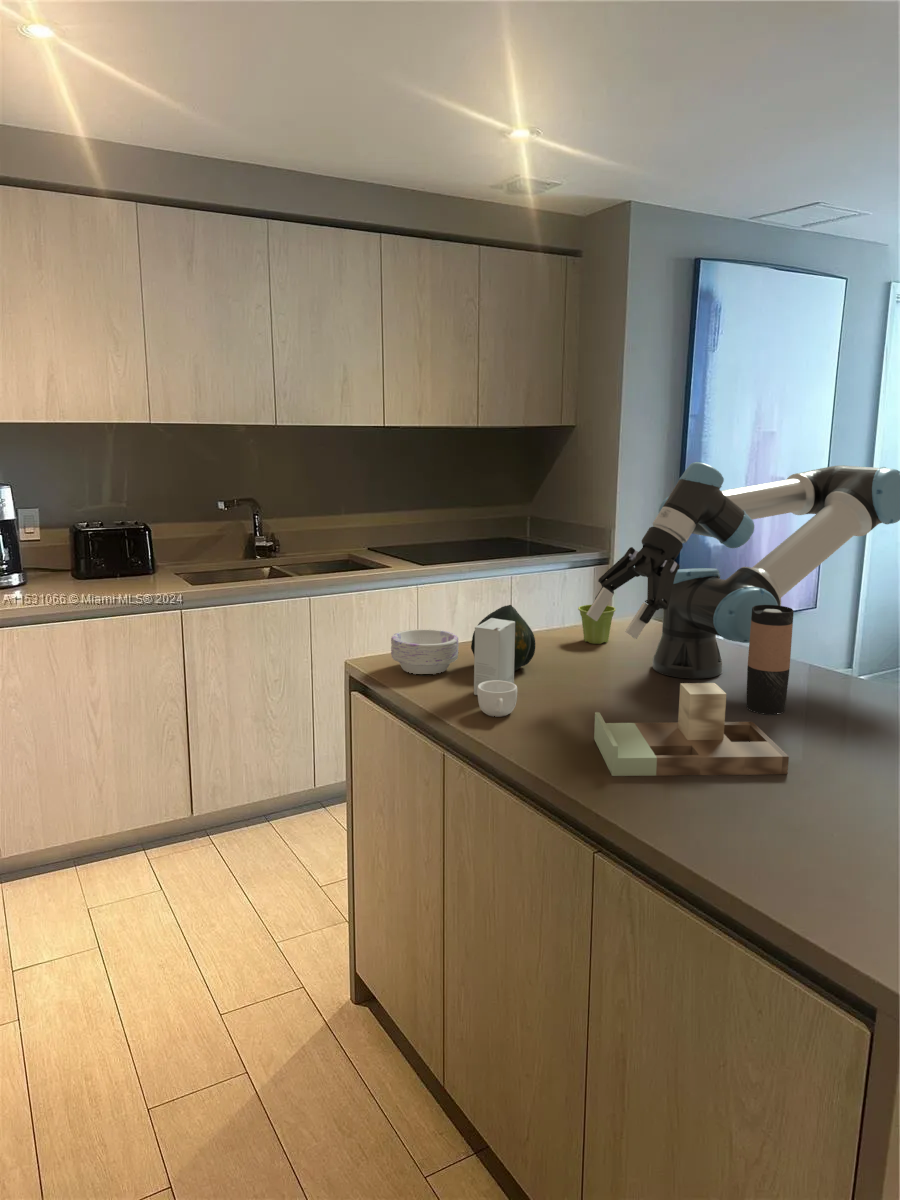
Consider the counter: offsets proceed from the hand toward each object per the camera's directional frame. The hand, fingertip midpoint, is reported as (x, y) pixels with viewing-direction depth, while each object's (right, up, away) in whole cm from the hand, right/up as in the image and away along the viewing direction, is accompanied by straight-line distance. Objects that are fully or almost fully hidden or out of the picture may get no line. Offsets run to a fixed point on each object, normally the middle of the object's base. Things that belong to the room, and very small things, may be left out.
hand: (610, 626), depth 168 cm
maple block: (+11, -18, -22) cm, 30 cm away
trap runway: (+12, -21, -24) cm, 34 cm away
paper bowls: (-37, -11, +27) cm, 47 cm away
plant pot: (+6, -6, +51) cm, 52 cm away
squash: (-20, -11, +28) cm, 36 cm away
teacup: (-22, -17, -3) cm, 28 cm away
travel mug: (+30, -16, -1) cm, 34 cm away
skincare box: (-22, -14, +10) cm, 28 cm away
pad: (-2, -21, -24) cm, 32 cm away
